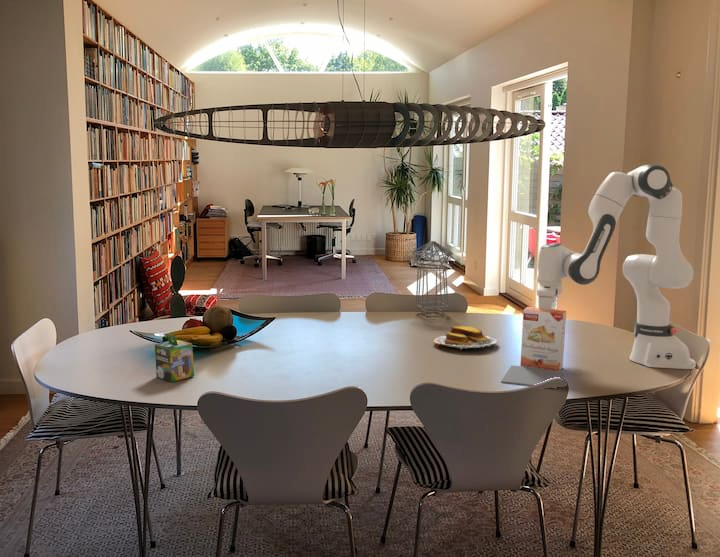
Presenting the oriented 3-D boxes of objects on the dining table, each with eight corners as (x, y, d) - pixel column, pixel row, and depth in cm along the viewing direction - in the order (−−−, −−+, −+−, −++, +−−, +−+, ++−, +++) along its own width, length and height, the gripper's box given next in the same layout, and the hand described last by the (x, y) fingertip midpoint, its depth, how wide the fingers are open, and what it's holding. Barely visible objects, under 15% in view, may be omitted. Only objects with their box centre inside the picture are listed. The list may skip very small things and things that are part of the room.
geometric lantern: (422, 318, 333) (422, 243, 328) (410, 312, 348) (410, 240, 343) (454, 316, 337) (454, 241, 332) (441, 310, 352) (442, 239, 347)
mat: (563, 372, 252) (563, 371, 251) (557, 389, 233) (557, 387, 233) (511, 366, 258) (511, 365, 258) (501, 382, 240) (501, 381, 239)
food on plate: (432, 352, 277) (432, 336, 276) (433, 337, 301) (434, 321, 300) (499, 355, 273) (500, 338, 272) (495, 339, 298) (496, 323, 297)
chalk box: (194, 377, 242) (193, 333, 240) (171, 383, 235) (169, 338, 233) (178, 371, 248) (177, 329, 246) (155, 377, 242) (153, 334, 239)
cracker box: (519, 366, 259) (522, 308, 255) (524, 362, 264) (527, 305, 260) (559, 371, 252) (562, 313, 249) (563, 367, 257) (566, 310, 254)
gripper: (543, 282, 273) (542, 318, 276) (536, 291, 255) (534, 330, 257) (561, 283, 271) (559, 320, 273) (554, 293, 252) (552, 331, 255)
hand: (547, 325), depth 265 cm, fingers closed
